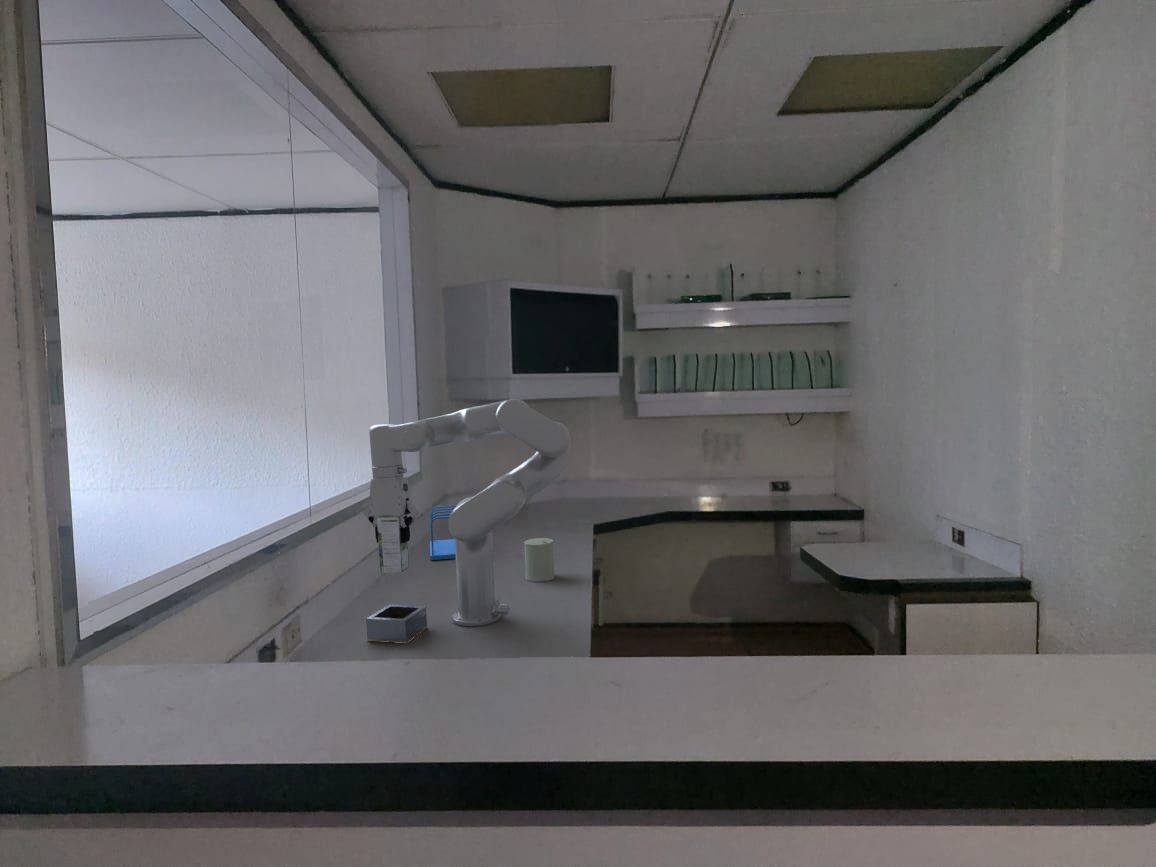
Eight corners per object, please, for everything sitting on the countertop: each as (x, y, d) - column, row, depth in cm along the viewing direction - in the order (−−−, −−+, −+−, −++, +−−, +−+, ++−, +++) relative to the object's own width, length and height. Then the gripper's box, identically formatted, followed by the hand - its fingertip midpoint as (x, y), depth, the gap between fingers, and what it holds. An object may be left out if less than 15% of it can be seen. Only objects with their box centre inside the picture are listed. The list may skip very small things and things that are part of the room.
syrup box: (388, 567, 177) (383, 513, 176) (410, 567, 176) (405, 512, 175) (380, 574, 171) (375, 517, 170) (402, 573, 171) (398, 516, 170)
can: (539, 583, 204) (538, 544, 203) (519, 578, 210) (517, 540, 209) (561, 576, 211) (559, 538, 210) (540, 571, 217) (538, 535, 216)
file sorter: (480, 557, 239) (478, 514, 238) (430, 561, 236) (428, 518, 235) (475, 541, 264) (473, 503, 263) (430, 545, 260) (427, 506, 259)
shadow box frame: (427, 628, 169) (425, 606, 169) (406, 644, 159) (405, 620, 159) (390, 626, 172) (388, 604, 171) (367, 641, 162) (366, 618, 161)
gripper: (425, 470, 173) (430, 538, 174) (367, 471, 178) (372, 537, 179) (409, 474, 166) (415, 545, 167) (349, 475, 171) (355, 544, 172)
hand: (393, 541), depth 173 cm, fingers closed on syrup box, 6 cm apart
